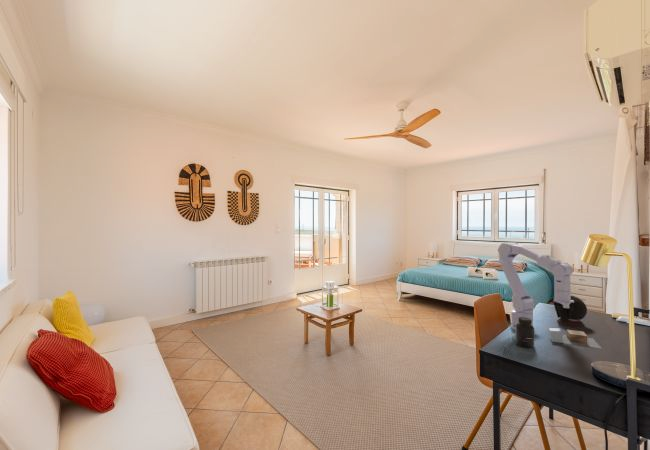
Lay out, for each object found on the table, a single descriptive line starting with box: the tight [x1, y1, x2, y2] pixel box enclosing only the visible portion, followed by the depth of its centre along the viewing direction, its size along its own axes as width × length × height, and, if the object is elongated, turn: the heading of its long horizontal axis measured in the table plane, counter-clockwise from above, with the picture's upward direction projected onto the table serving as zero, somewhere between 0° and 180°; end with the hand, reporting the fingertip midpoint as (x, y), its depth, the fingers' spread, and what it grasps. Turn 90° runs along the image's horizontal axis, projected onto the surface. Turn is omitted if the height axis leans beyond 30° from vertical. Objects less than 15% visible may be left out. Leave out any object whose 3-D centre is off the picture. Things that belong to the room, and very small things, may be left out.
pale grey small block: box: [548, 327, 564, 344], centre depth 135 cm, size 4×4×5 cm
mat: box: [562, 334, 602, 349], centre depth 134 cm, size 14×12×1 cm
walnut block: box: [566, 329, 588, 344], centre depth 134 cm, size 6×6×4 cm
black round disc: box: [554, 294, 588, 328], centre depth 156 cm, size 13×13×15 cm
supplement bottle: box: [515, 317, 535, 349], centre depth 130 cm, size 7×7×12 cm
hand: (562, 319), depth 135 cm, fingers open, 7 cm apart
